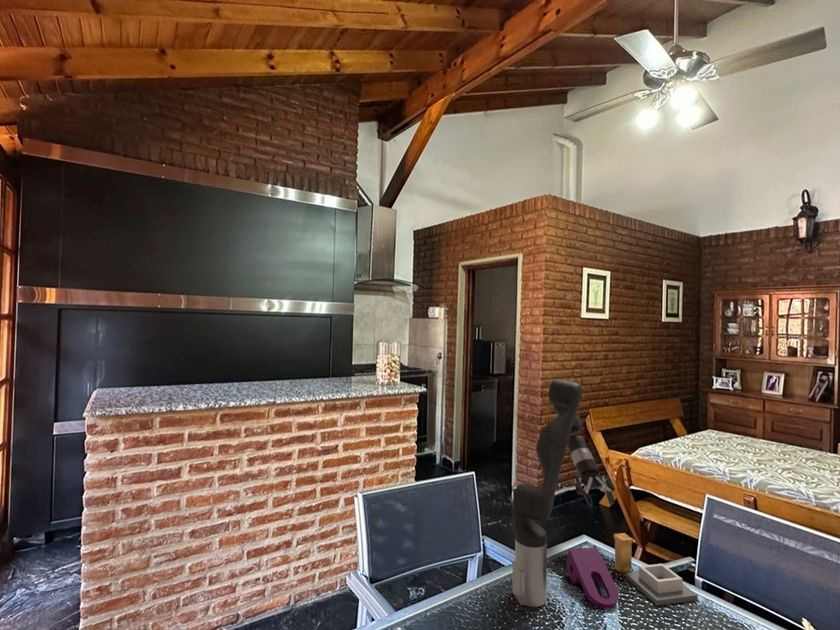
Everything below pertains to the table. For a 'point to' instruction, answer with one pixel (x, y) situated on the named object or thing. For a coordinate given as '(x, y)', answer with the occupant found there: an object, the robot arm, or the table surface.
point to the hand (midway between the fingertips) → (602, 504)
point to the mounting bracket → (591, 575)
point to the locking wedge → (623, 552)
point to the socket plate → (661, 585)
